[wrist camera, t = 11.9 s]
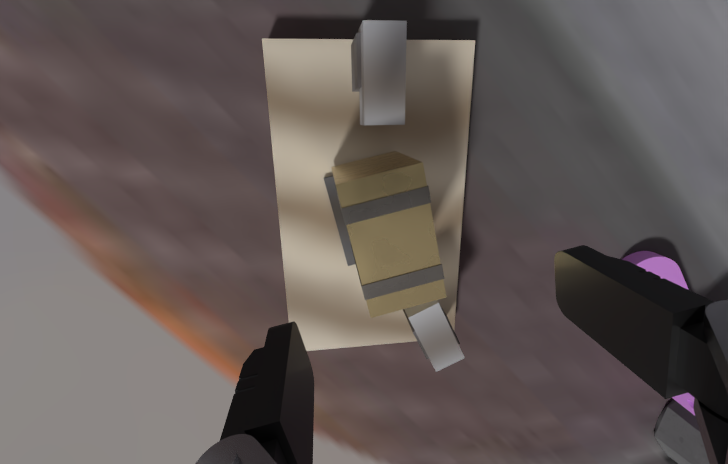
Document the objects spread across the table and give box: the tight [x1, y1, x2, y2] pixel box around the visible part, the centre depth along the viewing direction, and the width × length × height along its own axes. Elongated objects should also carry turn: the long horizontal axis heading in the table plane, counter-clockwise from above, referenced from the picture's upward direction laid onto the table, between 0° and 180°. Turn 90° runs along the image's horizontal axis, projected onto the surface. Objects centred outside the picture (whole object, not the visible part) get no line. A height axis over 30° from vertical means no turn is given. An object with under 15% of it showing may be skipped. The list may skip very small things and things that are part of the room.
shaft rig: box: [262, 20, 475, 372], centre depth 21 cm, size 20×12×6 cm, turn 1°
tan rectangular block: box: [331, 151, 446, 318], centre depth 19 cm, size 7×4×6 cm, turn 13°
